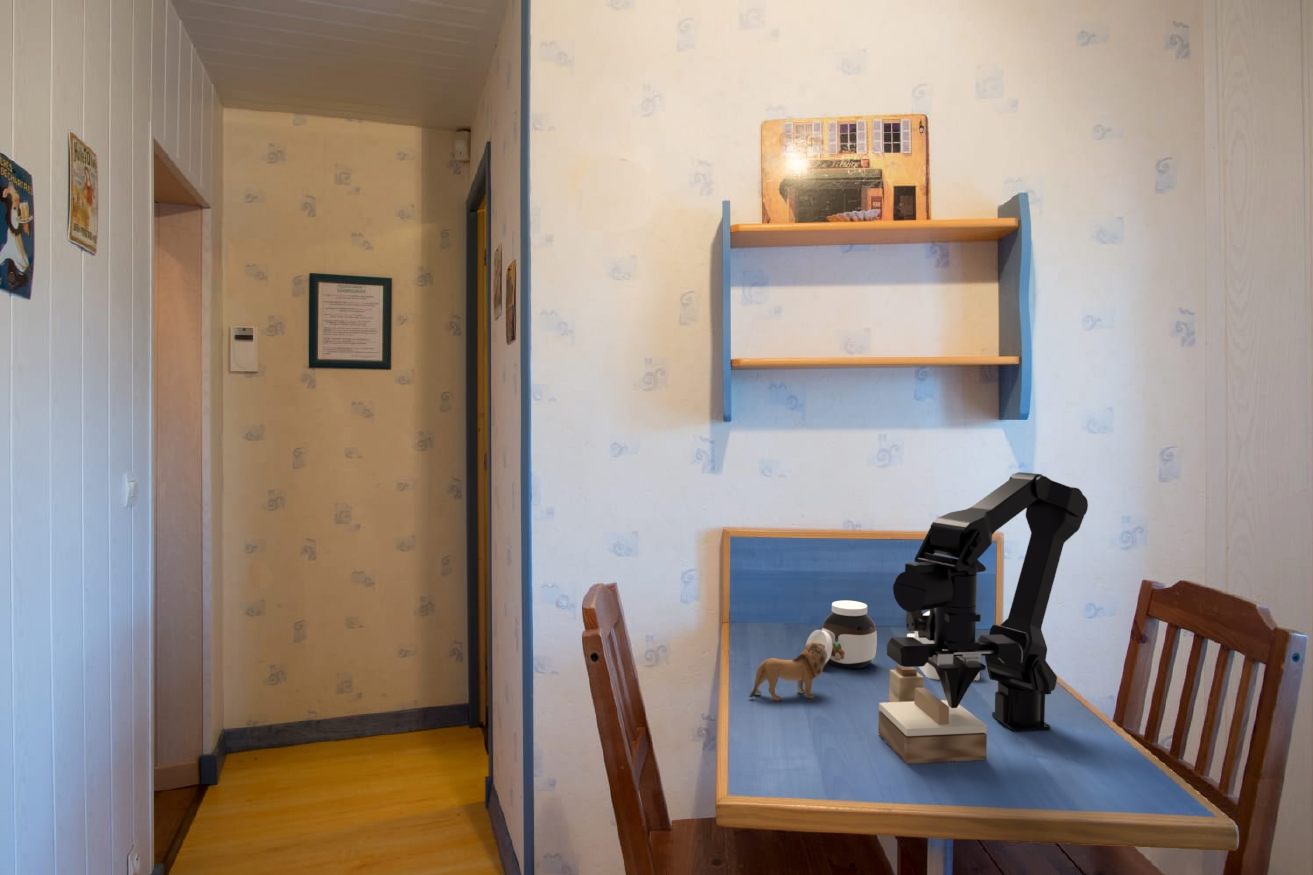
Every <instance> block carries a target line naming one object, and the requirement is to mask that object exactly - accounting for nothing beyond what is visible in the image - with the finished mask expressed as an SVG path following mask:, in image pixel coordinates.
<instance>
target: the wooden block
mask: <svg viewBox="0 0 1313 875" xmlns="http://www.w3.org/2000/svg"><path fill="white" fill-rule="evenodd" d="M895 668H896V669H889V680H888V681H889V685H888V686H889V687H888V689H889V690H888V697H889V698H888V702H911V701H915V688H924V678H925V677H924V676H923V675H922V674H920V673H919V672H918V670H917V668H916V667H904V666H901V665H899V664H896V666H895Z"/></svg>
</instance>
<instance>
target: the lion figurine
mask: <svg viewBox="0 0 1313 875" xmlns="http://www.w3.org/2000/svg"><path fill="white" fill-rule="evenodd" d="M804 647H805V649H803V651H801V652H800V654H799V655H797V656H796V657H795V658H793V659H779V658H776V657H775V658H774V657H772V658H767V659H765V660H764V661H762V662H761V664H760V665H759V666H758V668H757V671H756V674H755V680H754V684H753V689H752V691H751V693H750V694H749V696H748V697H749V698H754V697H755V696H756V695H757V696H761V695H762V691H761V690H760V689H759V688H760V687H761V685H763V683H765V682H766V681H767V682H768V684H769V686H768V693H769V695H770V696H771V698H772V699H773V701H777V702H778V701H781V700H782V699H781V696H780V695H777V694H776V691H775V688H776V685H778V684H777V683H778V681H779V678H780V679H781V680H784V681H787V682H797V683H796V684H797V688H796V690H797V691H796V692H797V693H799V694H805V697H806V698H807V699H814V694H812V693H811V690H812V685H813V680H814V679H817V678H819V677H820V676H821V675H822V672H823V669H824V668H825V665H826V664H825V662H826V658H827V653H826V650H825V645H823V644H821V643H819V642H811V643H809V644H807V645H806V644H805V646H804ZM803 684H804V688H803Z"/></svg>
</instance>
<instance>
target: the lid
mask: <svg viewBox="0 0 1313 875" xmlns="http://www.w3.org/2000/svg"><path fill="white" fill-rule="evenodd" d="M878 710H879V711H881V712H882V713H883V714H884V715H885V716H886V717H887V718H888V719H890V720H891V721H892V722H893V723H894V724H895V725H896V726H897V727H898V728H899V729H900V730H901V731H902V732H903V733H904V734H905V735H906V736H921V735H944V734H966V733H985V734H986V733H987V732H988V725H987V724H985V723H984V722H983V721H982V720H980V719H979V718H978V717H976V716H975V715H974V714H973V713H971V712H970V711H968V710H967V709H966V708H964V707H963V706H962V705H961V704H959V705H958V707H957V708H951V707H949V705H948V702H947V699H941V700H940V699H939V698H938V697H937V696H935V695H934V694H933V693H932V692H930V691H929V690H928V689H926V688H925V687H923V688H915V701H911V702H889V701H888V702H878Z"/></svg>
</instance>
